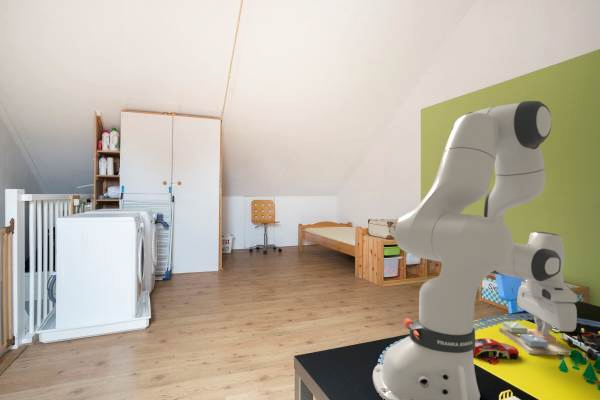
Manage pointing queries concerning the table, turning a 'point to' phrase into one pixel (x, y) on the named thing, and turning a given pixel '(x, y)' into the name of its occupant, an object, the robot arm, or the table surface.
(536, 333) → the terracotta tile
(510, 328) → the sage tile
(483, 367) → the table surface
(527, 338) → the slate tile
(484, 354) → the race car
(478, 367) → the table surface
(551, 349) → the birch board
